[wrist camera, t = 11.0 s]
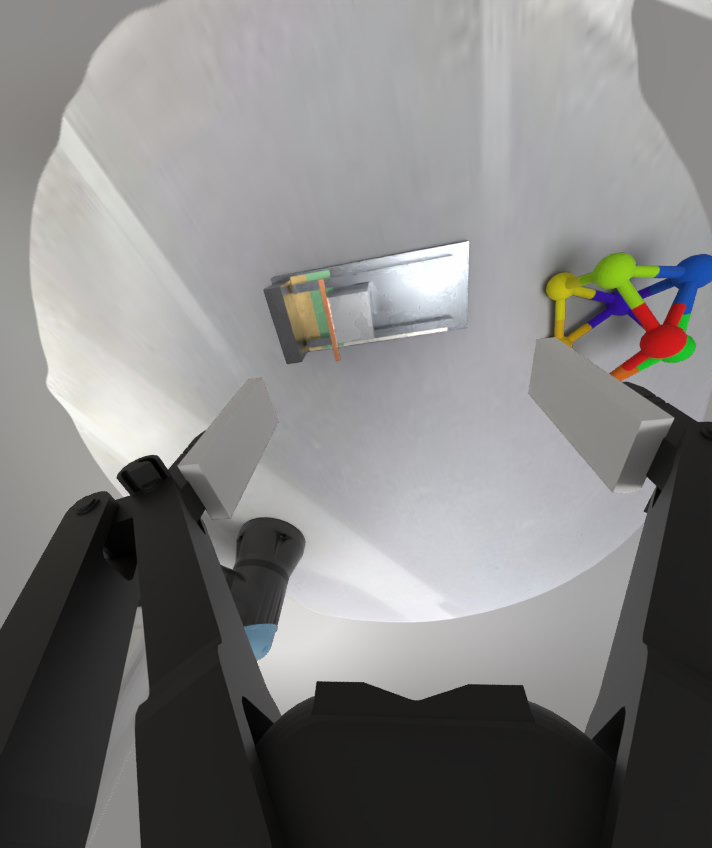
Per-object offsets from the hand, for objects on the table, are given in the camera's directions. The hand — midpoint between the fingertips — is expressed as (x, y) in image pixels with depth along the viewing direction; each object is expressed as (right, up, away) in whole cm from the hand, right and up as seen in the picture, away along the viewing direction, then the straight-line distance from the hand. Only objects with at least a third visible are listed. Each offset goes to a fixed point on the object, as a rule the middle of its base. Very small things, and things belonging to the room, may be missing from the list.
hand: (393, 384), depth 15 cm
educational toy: (+28, +14, +24) cm, 39 cm away
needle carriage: (-2, +13, +24) cm, 27 cm away
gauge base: (0, +14, +25) cm, 29 cm away
